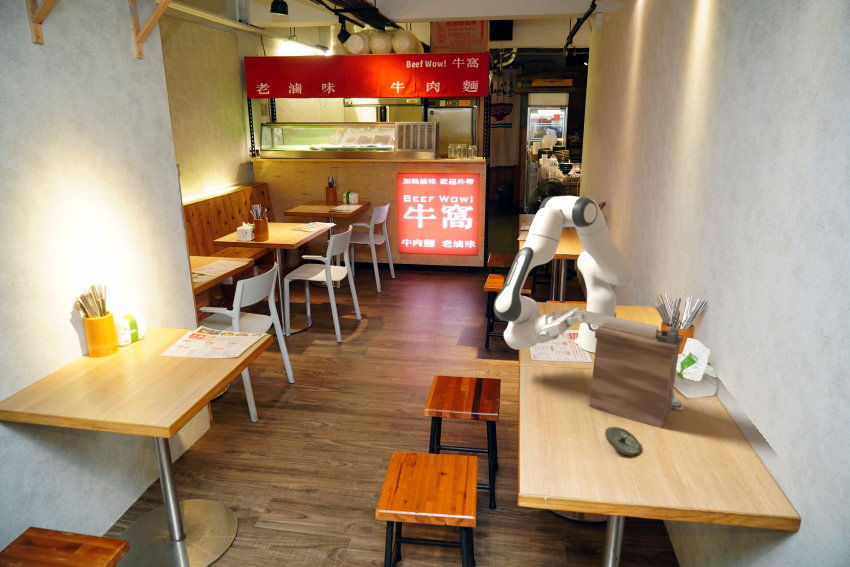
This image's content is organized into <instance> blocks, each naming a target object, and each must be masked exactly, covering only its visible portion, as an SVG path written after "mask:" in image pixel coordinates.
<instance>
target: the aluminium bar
mask: <svg viewBox="0 0 850 567" xmlns="http://www.w3.org/2000/svg"><path fill="white" fill-rule="evenodd" d="M580 309H581V308H580ZM580 309H578V310H577V311H576V312H575V317H576V316H578V315H581V314H582V315H583V317H584V319H583V320H582V321H579V322H581V323H583V322H584V323H588V324H593V325H597V326H601V327H606V328H610V329H615V330H619V331H624V332H628V333H633V334H637V335H641V336H646V337H650V338H656V337H657V336H658V330H659V327H660V326H658V325H653V324H649V323H646V322H640V321H635V320H631V319H627V318H621V317H617V316H616V317H613V316H608V315H603V314H599V313H594V312H589V311H586V310H584V309H581V310H580ZM579 322H578V323H579Z"/></svg>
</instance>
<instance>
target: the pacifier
mask: <svg viewBox="0 0 850 567" xmlns="http://www.w3.org/2000/svg"><path fill="white" fill-rule="evenodd" d="M684 408H685V405H684V403H682V402H681V401H680V400H679V399H678V397H677V396H675V391H673V393H672V399H671V406H670V409H674V410H677V411H681V410H684Z"/></svg>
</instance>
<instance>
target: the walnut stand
mask: <svg viewBox="0 0 850 567" xmlns="http://www.w3.org/2000/svg"><path fill="white" fill-rule="evenodd" d="M595 338H597V341H596V350H595V353H594V358H593V361H594V362H593V368H592V377H591V378H592V380H591V387H590V395H589V404H588V408H589V407H591V408H590V409H593V408H594V410H596V409H597V411H600V410H601V411H600V412H603V411H604V412H603V413H606V412H607V414H610V413H611V414H610V415H613V414H614V416H618V417H620V416H621V418H624V419H626V420H631V421H635V422H638V423H642V424H645V425H649V426H652V427H655V426H656V427H655V428H658V427H659V429H662V427H663V425H664V424H663V423H665V422H666V420H667V418H668V416H669V414H670V410H671V408H670V406H671V399H672V393H673V392H674V385H675V379H676V371H677V367H678V366H677V365H678V360H679V353H680V347H681V345H682V343H683V341H684V335H682V334H680V327H674V326H672V327H671V328H670V329H669V330H665V329H662V330H659V329H658V336H657V337H656V338H650V337H646V336H641V335H637V334H633V333H628V332H624V331H619V330H615V329H610V328H606V327H600V328H599V329H598V330H597V331H596V332H595ZM665 419H666V420H665Z"/></svg>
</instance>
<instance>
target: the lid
mask: <svg viewBox="0 0 850 567" xmlns="http://www.w3.org/2000/svg"><path fill="white" fill-rule="evenodd" d="M604 436H605V438H606V439H605V440H606V441H607V442H608V443H609V445H610V446H611V447H612V448H614V450H616V451H617V452H619V453H620V454H621V455H624V456H628V457H632V456H633V457H634V456H637V455H639V454H640V453H641V451H642V448H641V444H640V442H639V440H638V439H637V438H636V437H635V436H634V435H633V434H632V433H631V432H629V431H628V430H626V429H625V428H621V427H619V426H617V427H616V426H611V427H609V426H608V427H607V428H606V429H605V432H604Z"/></svg>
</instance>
